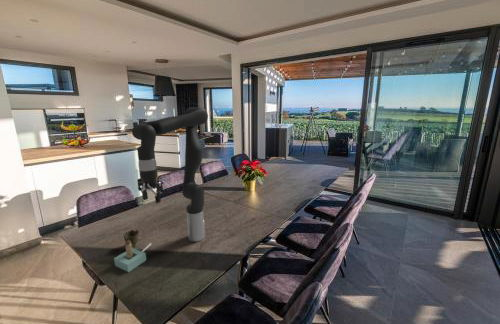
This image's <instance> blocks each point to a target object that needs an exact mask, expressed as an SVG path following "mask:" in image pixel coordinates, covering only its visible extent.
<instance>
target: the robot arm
mask: <svg viewBox="0 0 500 324" xmlns="http://www.w3.org/2000/svg"><path fill="white" fill-rule="evenodd" d="M208 118H209V115H208V112H207V110H206V109H205V108H203V107H188V108H187V109H186V111H185V113H184V114H181V115H173V116H167V117H164V118H160V119H157V120H153V121H147V122H142V123H138V124H136V125H135V126H133V128H132V130H131V133H132V136H133V137H134V138H135V139H136V140H140V145H139V146H138V147H137V158H138V159H137V161H138V163H137V164H138V172H139V178H138V179H137V189H138V191H140V192H141V193H142V194H141V195H142V199H143V201H146V200H148V198H149V195H148V190H150V191H151V193H153V194H154V195H155V196H154V198H155V199H154V200H155V203H156V204H158V203H161V195H163V194H165V193H164V188H163V187H164V186H163V181H158V180H157V178H158V177H159V176H158V165H157V161H156V155H155V154H156V153H155V146H156V140H157V136H163V135H167V134H169V133H172V132H174V131H178V130H181V129H185V152H184V153H185V154H184V159H185V160H184V176H183V182H182V196H183V197H184V198H185V199H188V200H190V201H191V203H190V204H188V205H187V206H186V219H187V220H186V222H187V234H188V241H190V242H200V241H202V240H204V238H205V236H206V223H205V220H204V205H205V189H204V187H203V186H202V185H200V184H197V183H196V182H195V178H196V173H197V171H198V170H199V167H200V165H201V164H202V162H203V161H202V160H203V146H202V143H201V140H200V139H199V136H198V126H202V125H204V124H206V123H207V121H208Z"/></svg>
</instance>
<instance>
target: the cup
mask: <svg viewBox="0 0 500 324" xmlns="http://www.w3.org/2000/svg"><path fill="white" fill-rule="evenodd" d="M122 236H123V238H124V241H125V242H126V241H128V240H129V241H131V245H132V248H135V247H136V246H137V243H138V241H139V230H138V229H137V230H134V229H131V230H128V231H125V232H124V233H123V235H122ZM125 242H124V243H125Z"/></svg>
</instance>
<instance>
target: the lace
mask: <svg viewBox="0 0 500 324" xmlns="http://www.w3.org/2000/svg"><path fill="white" fill-rule="evenodd" d="M151 245H152V243H151V242H150V243H149V244H148V245H146V247H144V249H142V250H141V251H142V252H144V253H145V251H146V250H147V249H148V248H150V246H151Z"/></svg>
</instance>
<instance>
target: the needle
mask: <svg viewBox="0 0 500 324" xmlns="http://www.w3.org/2000/svg"><path fill="white" fill-rule="evenodd" d="M124 246H125V252H126V253H127V259H128V260H130V259H131V258H133V253H132V248H133V247H132V245H131V241H129V240H128V241H126V242H124Z"/></svg>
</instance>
